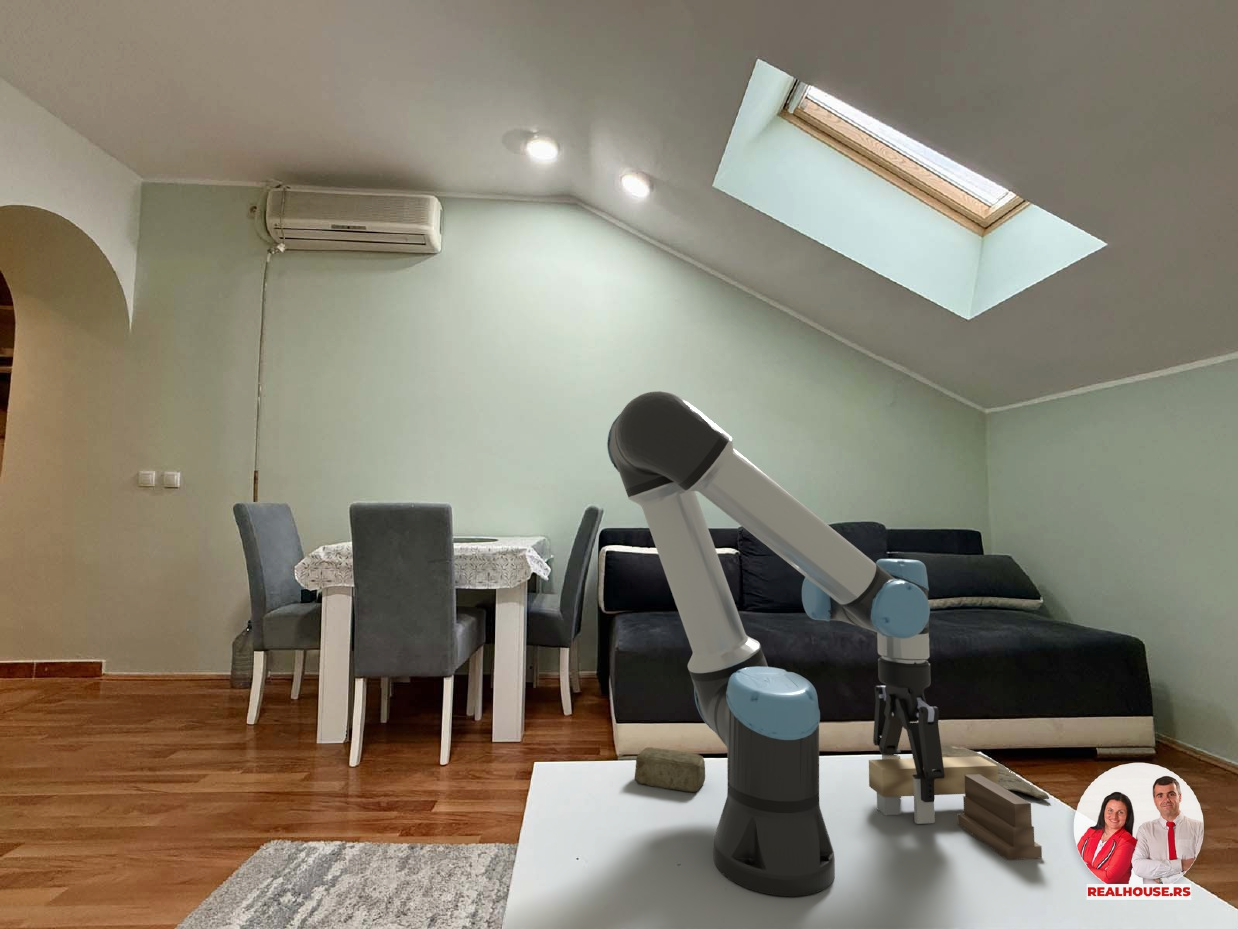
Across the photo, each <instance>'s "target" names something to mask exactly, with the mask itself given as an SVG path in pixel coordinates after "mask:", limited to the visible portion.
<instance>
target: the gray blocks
mask: <svg viewBox="0 0 1238 929" xmlns="http://www.w3.org/2000/svg"><path fill="white" fill-rule="evenodd" d="M877 808H878V809H879V810H878V809H877ZM876 809H877V810H878V811H879V812H881V813H882V814H884V816H900V815H901V798H900V796H899V797H882V796H881V795H880V794H878V793H877V792H876ZM899 814H900V815H899Z"/></svg>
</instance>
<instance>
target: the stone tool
mask: <svg viewBox="0 0 1238 929" xmlns="http://www.w3.org/2000/svg"><path fill="white" fill-rule="evenodd" d="M941 750H942V758H944V757H977V756H980V757H982V758H984V759H986V760H987V761H989V762H991V763H993V764H995V765H997V768H998V785H999V786H1001V787H1003V788H1004V789H1006V790H1008V791H1015V792H1018V793H1022V794H1025V795H1028V796H1032V797H1035V798H1037V799H1039V800H1050V797H1049V795H1048V794H1047V793H1046V792H1045V791H1042V790H1040V789H1038V788H1037V787H1036V786H1034V785H1032V784H1031V783H1029V782H1027V781H1026V780H1024V779H1023V778H1021V777H1020V776H1018V775H1017V774H1016V773H1014V772H1013V771H1012V770H1010V769H1008V768H1007V767H1006V766H1005V765H1004V764H1001V763H999V762H997V761H996V760H993V759H992V758H990V757H989V756H986V755H983V754H981V753H978V752H977V751H975V750H971V749H969V748H966V747H964V746H961V745H958V744H954V743H941ZM1009 771H1010V772H1009ZM1011 772H1012V773H1011ZM1016 775H1017V776H1016ZM1030 784H1031V785H1030Z"/></svg>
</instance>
